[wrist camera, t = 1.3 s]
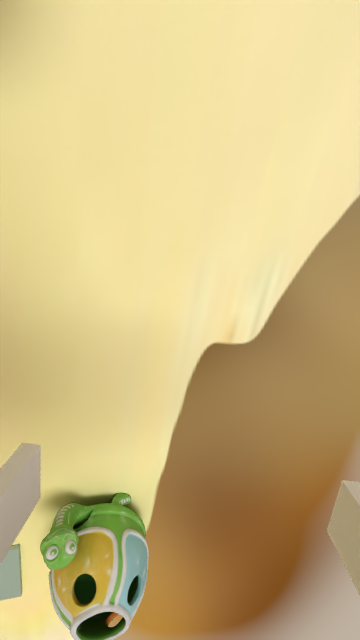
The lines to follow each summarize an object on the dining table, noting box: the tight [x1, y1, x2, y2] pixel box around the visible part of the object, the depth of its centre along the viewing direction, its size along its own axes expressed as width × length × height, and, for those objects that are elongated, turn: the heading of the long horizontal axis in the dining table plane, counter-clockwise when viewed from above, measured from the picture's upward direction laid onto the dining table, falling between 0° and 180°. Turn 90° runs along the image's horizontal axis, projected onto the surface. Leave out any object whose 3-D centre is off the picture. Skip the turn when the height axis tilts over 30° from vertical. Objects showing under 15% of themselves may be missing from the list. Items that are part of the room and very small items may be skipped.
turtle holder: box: [40, 493, 148, 640], centre depth 36 cm, size 12×18×12 cm
